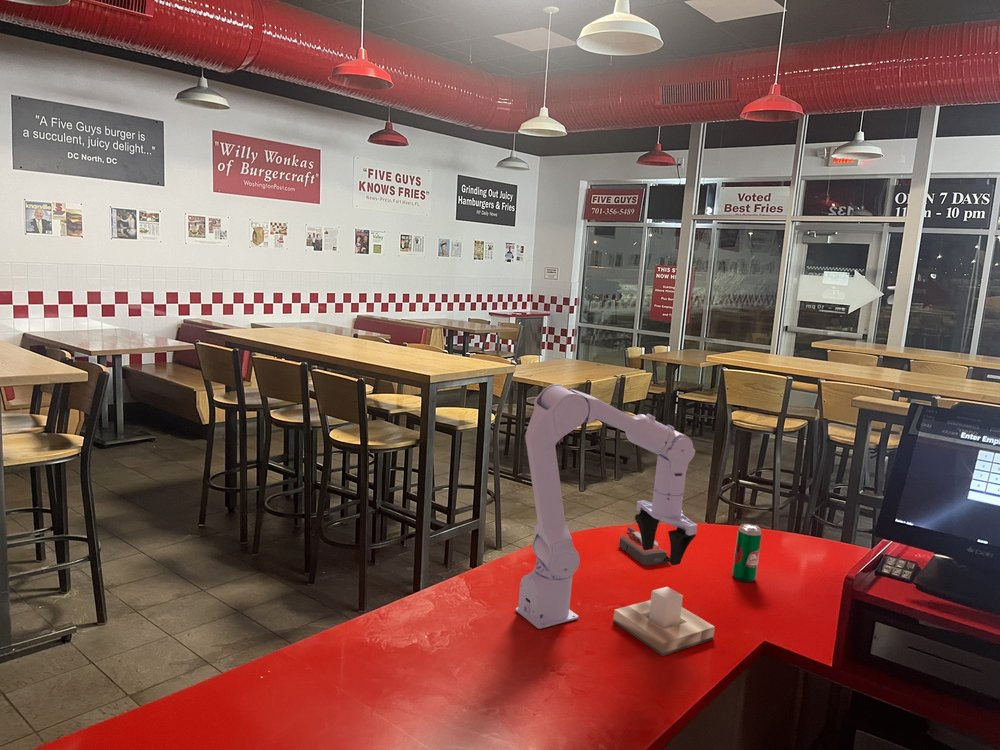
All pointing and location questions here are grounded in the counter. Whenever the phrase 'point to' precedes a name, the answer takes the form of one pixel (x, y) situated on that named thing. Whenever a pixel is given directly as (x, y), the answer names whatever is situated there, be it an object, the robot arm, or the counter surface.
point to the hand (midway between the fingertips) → (661, 556)
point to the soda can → (747, 552)
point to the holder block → (661, 639)
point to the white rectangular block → (665, 607)
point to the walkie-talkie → (635, 549)
